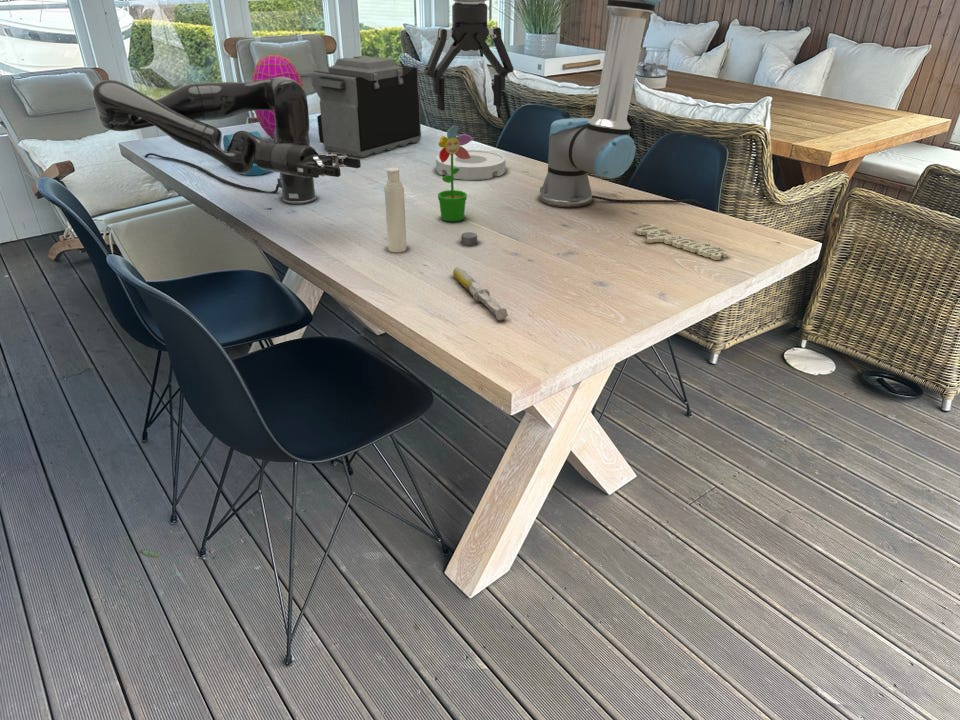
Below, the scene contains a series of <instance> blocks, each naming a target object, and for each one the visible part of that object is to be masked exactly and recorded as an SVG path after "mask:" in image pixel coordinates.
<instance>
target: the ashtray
mask: <svg viewBox="0 0 960 720" xmlns="http://www.w3.org/2000/svg"><path fill="white" fill-rule="evenodd" d="M466 150H467V151H468V153H469V155H470V156H471V158H469V159H460V158H458V157H457V156H456V155H455V154H453V169H455V168H459V171H458V172H457V173H456V174H453V180H454V179H456V180H465V181H480V180H488V179H492V178H493V177H500V176H503V174H505V173H506V159H507V158H506V157H505V155H503V154H502V153H498V152H495V151H492V150H484V149H466ZM435 163H436V164H435V168H436V169H435V170H436V173H437V174H438V175H440V176H446V175H450V176H451V154H450V155H449V157H448V159H447V160H446V161H445V162H443V163H442V162H441V160H440V157H439V154H437V155H436V157H435Z"/></svg>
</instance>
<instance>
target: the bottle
mask: <svg viewBox="0 0 960 720" xmlns="http://www.w3.org/2000/svg"><path fill="white" fill-rule="evenodd" d="M386 173H387V180H386V183H385V185H384V190H383V191H384V204H385V205H384V206H385V220H386V221H385V222H386V238H387V251H389V252H391V253H404V252H405V251H406V250H407V229H406V228H407V227H406V209H405V187H404V185H403V183H402V181H401V179H400V168H398V167H389V168H387V169H386Z"/></svg>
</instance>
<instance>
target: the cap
mask: <svg viewBox="0 0 960 720" xmlns="http://www.w3.org/2000/svg"><path fill="white" fill-rule="evenodd" d="M460 240H461V241H460V242H461V244H462V245H463V246H469V247H470V246H471V247H472V246H476V245H477V244H478V234H477V233H476V232H471V231H467V232H463V233H461V237H460Z"/></svg>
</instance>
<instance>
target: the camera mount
mask: <svg viewBox="0 0 960 720" xmlns="http://www.w3.org/2000/svg"><path fill="white" fill-rule="evenodd" d="M248 132H249V133H251V134H253V135H254V136H256V137H258V138H260V139H263V138H262V136H261V134H260V132H258V131H248ZM233 135H234V133H231V134H224V135H223V136H222V140H223V141H222V143H223V151H227V148H228V146H229V143H230V141H231V138H232V136H233ZM268 173H271V171H267V170H263V169H261V168H259V167H258V166H257V164H256V162H255V161H254V164H253V167H252V169H251V171H250V172H249V173H246V174H242V175H244V176H260V175H265V174H268Z"/></svg>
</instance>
